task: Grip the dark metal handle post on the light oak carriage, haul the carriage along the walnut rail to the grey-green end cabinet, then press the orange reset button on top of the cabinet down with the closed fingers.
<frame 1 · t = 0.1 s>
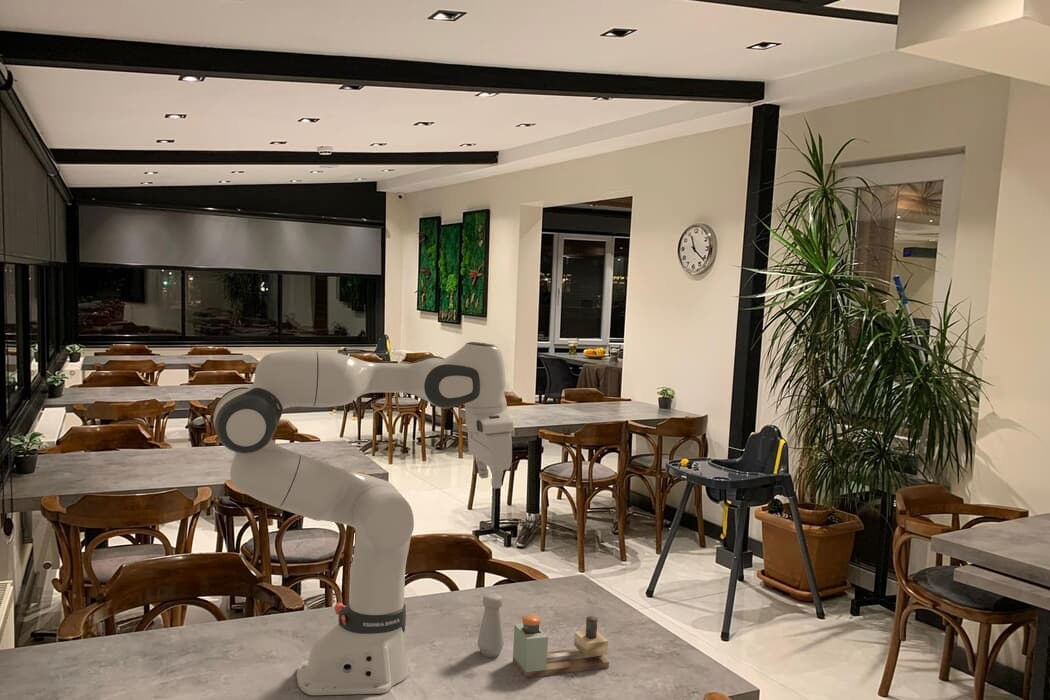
hand: (490, 482, 174), 39 cm above the table, tool pointing down, fingers open, 8 cm apart
end cabinet: (529, 668, 173), resting on rail bed
carriage: (591, 634, 178), point 6 cm above the table, slide at 0.0 cm
rail bed: (560, 664, 176), on the table
salt shaker: (490, 654, 180), on the table
reset button: (531, 629, 173), point 8 cm above the table, slide at 0.0 cm
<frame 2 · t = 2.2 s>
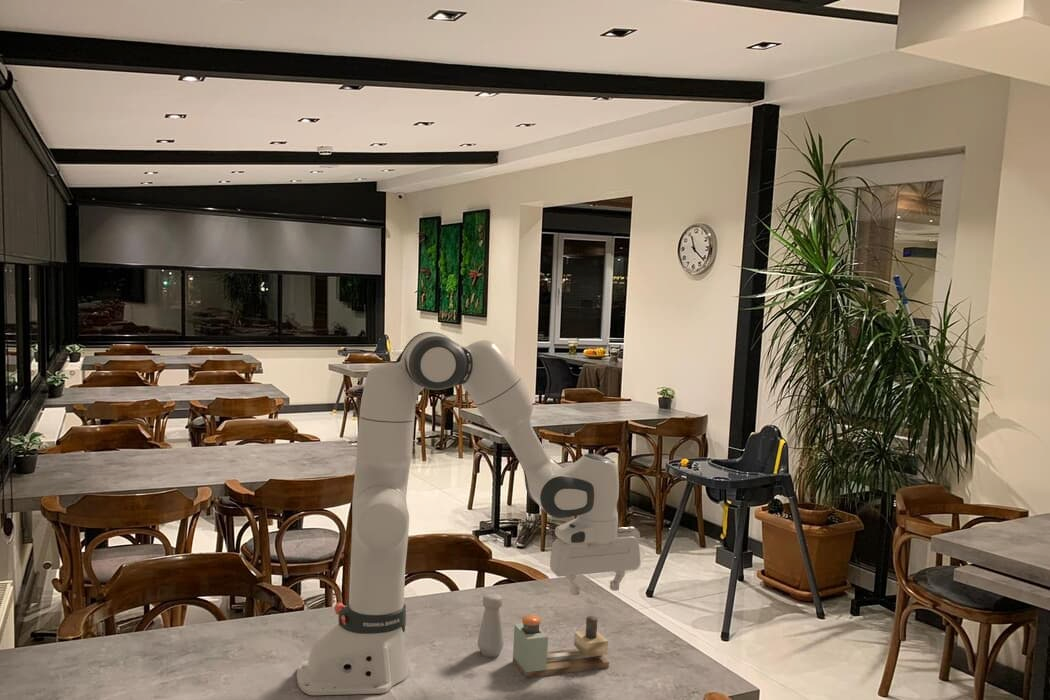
hand: (594, 591, 177), 15 cm above the table, tool pointing down, fingers open, 8 cm apart
nothing on the table moved.
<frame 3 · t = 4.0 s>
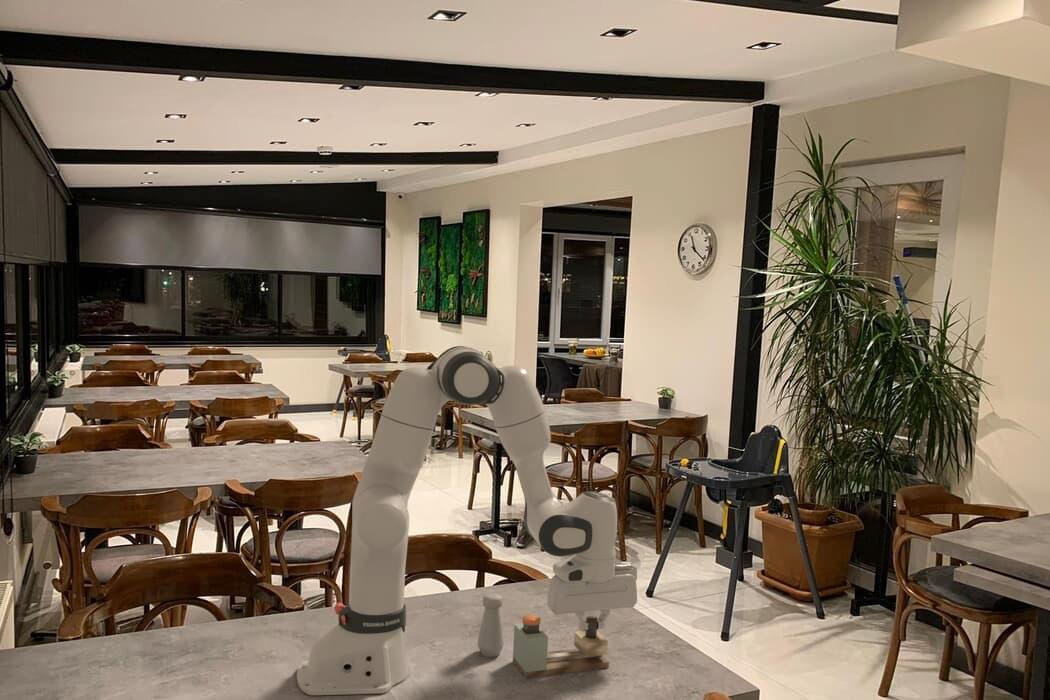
hand: (591, 629, 178), 7 cm above the table, tool pointing down, fingers closed on carriage, 2 cm apart
carriage: (591, 634, 178), point 6 cm above the table, slide at 0.0 cm, touching gripper
everything else where it was.
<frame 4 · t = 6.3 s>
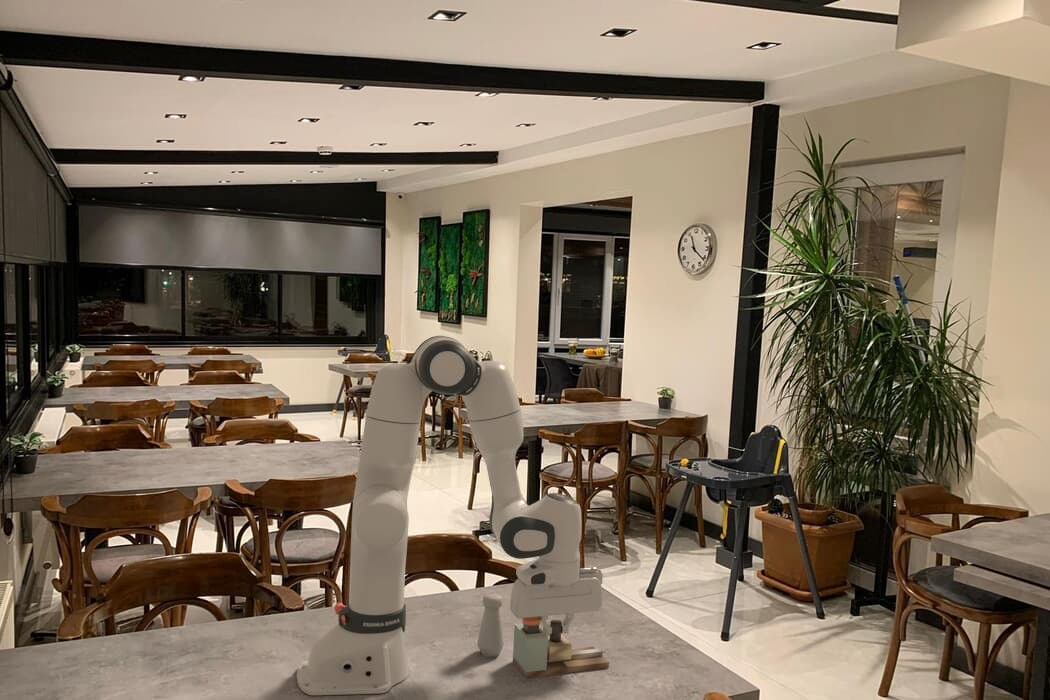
hand: (555, 633, 175), 7 cm above the table, tool pointing down, fingers closed on carriage, 2 cm apart
carriage: (555, 637, 175), point 6 cm above the table, slide at 8.4 cm, touching gripper
reset button: (531, 629, 173), point 8 cm above the table, slide at 0.0 cm, touching gripper
everything else where it was.
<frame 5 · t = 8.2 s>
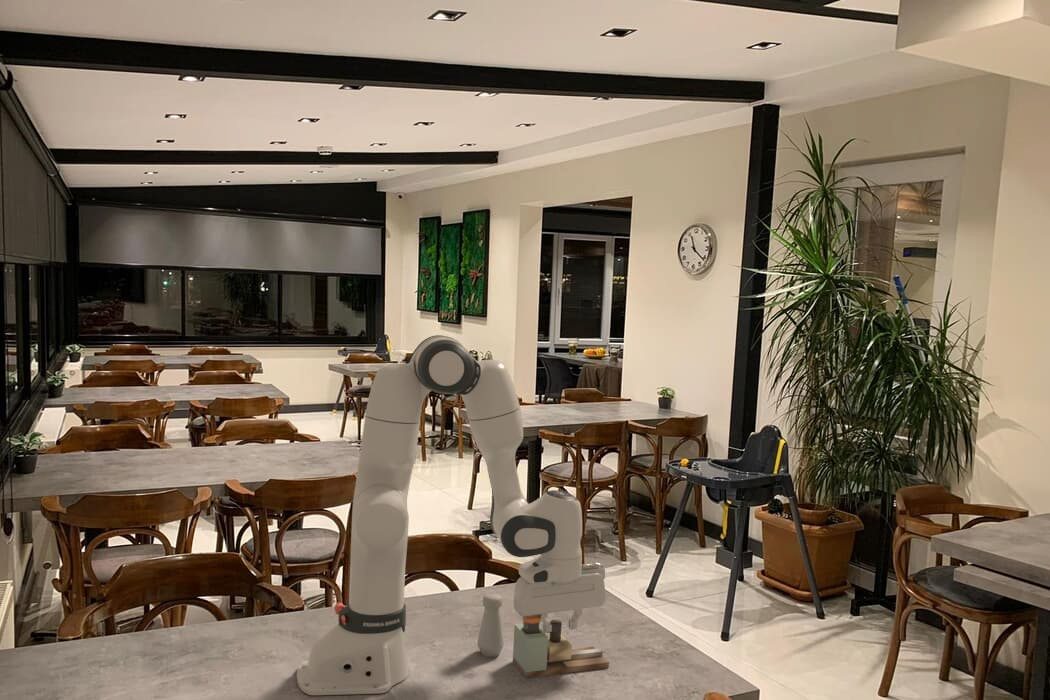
hand: (559, 630, 175), 8 cm above the table, tool pointing down, fingers open, 4 cm apart
carriage: (555, 637, 175), point 6 cm above the table, slide at 8.4 cm, touching gripper
reset button: (531, 627, 173), point 9 cm above the table, slide at -0.4 cm, touching gripper
everything else where it was.
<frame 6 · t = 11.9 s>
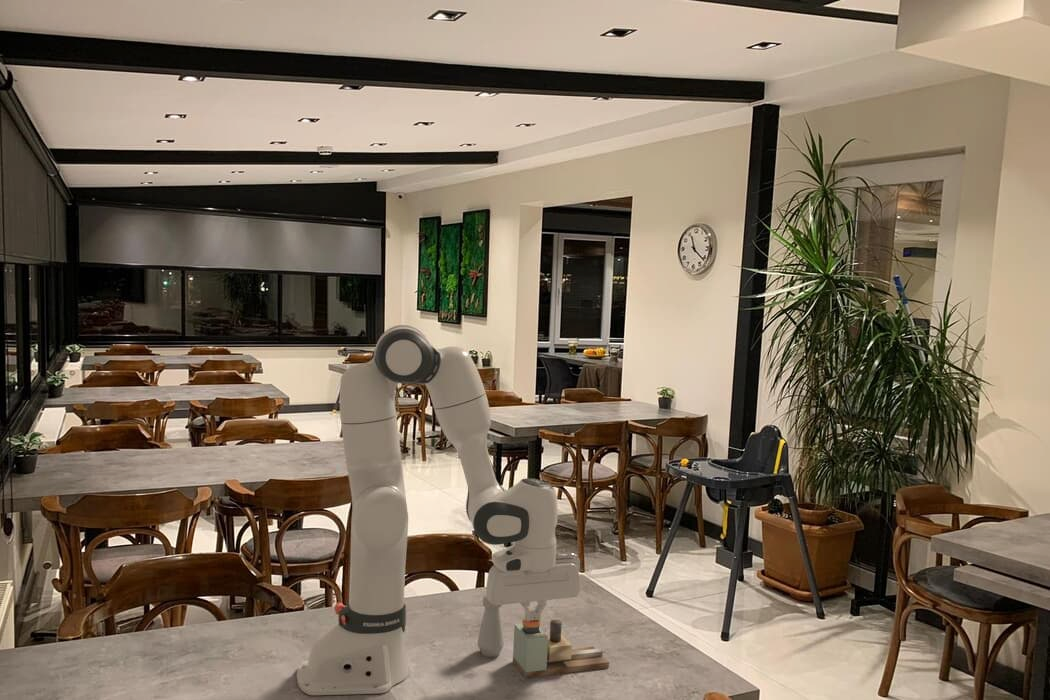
hand: (532, 620, 173), 10 cm above the table, tool pointing down, fingers closed, pressing on reset button
carriage: (555, 637, 175), point 6 cm above the table, slide at 8.4 cm
reset button: (530, 631, 173), point 8 cm above the table, slide at 0.5 cm, touching gripper
everything else where it was.
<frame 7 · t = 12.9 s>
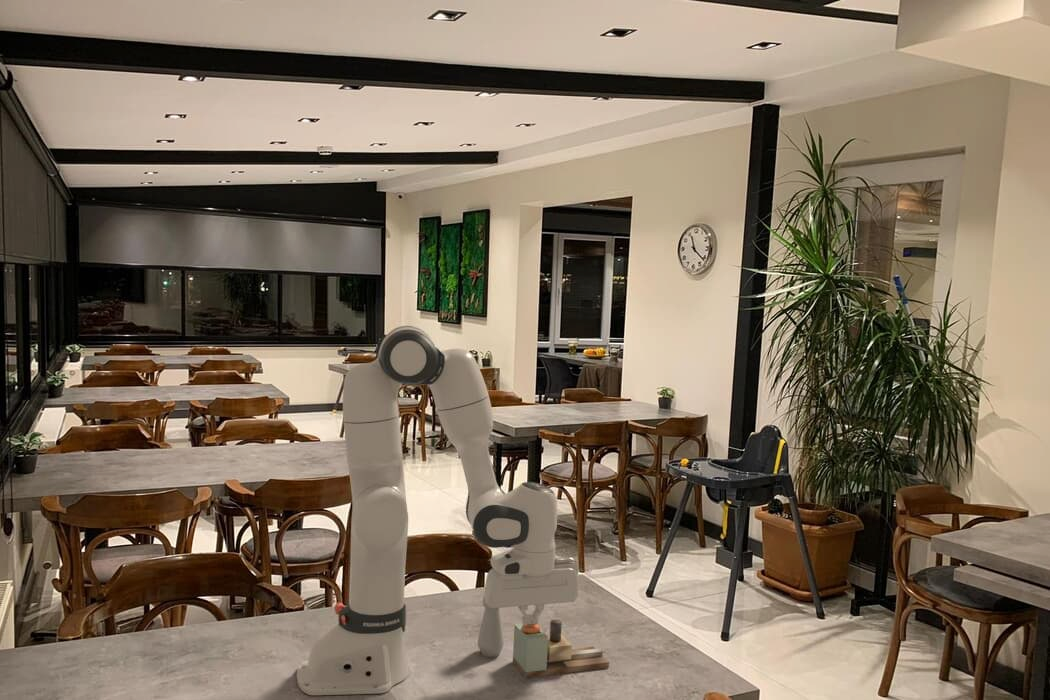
hand: (529, 624, 173), 10 cm above the table, tool pointing down, fingers closed
reset button: (530, 637, 173), point 7 cm above the table, slide at 1.7 cm
everything else where it was.
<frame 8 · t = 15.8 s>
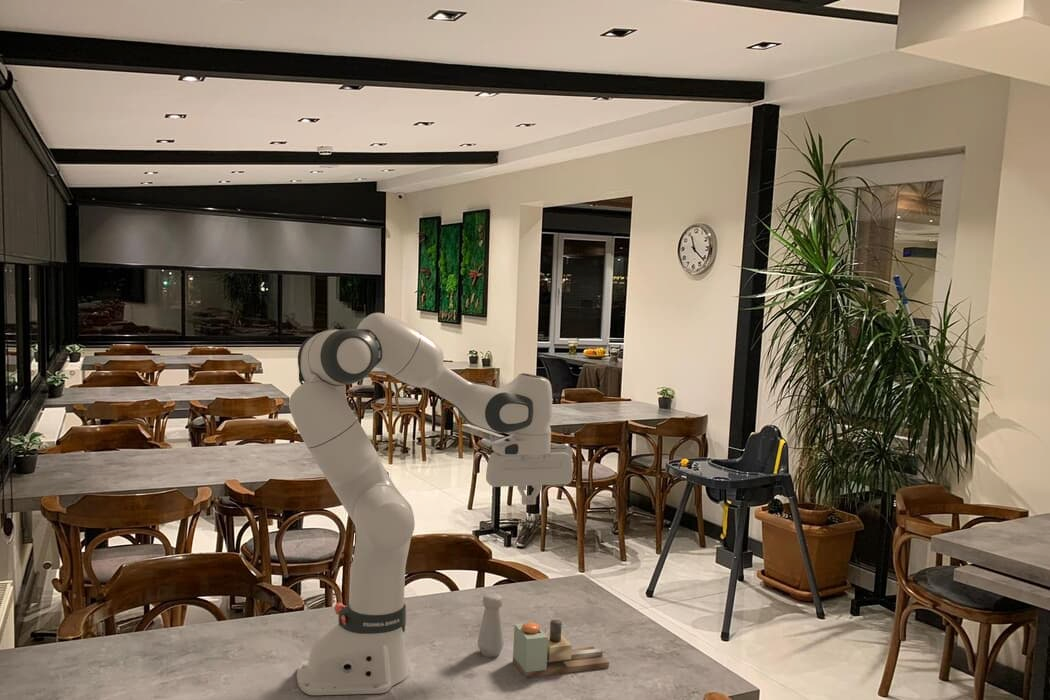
hand: (528, 504, 188), 31 cm above the table, tool pointing down, fingers closed
nothing on the table moved.
at the end: carriage slide at 8.4 cm; reset button slide at 1.7 cm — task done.
